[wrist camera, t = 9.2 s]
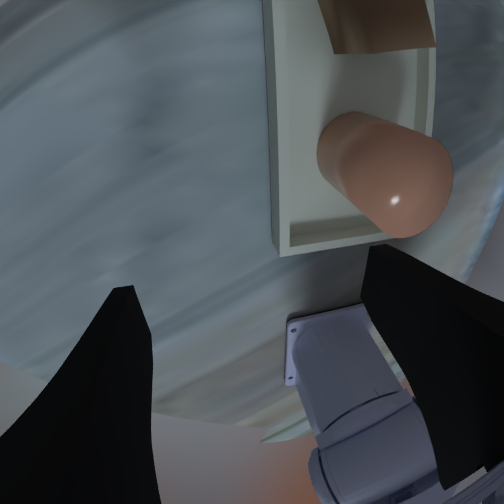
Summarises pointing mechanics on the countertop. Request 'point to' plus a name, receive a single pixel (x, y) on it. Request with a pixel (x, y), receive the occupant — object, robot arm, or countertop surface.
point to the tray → (329, 119)
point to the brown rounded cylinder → (386, 171)
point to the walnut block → (377, 25)
